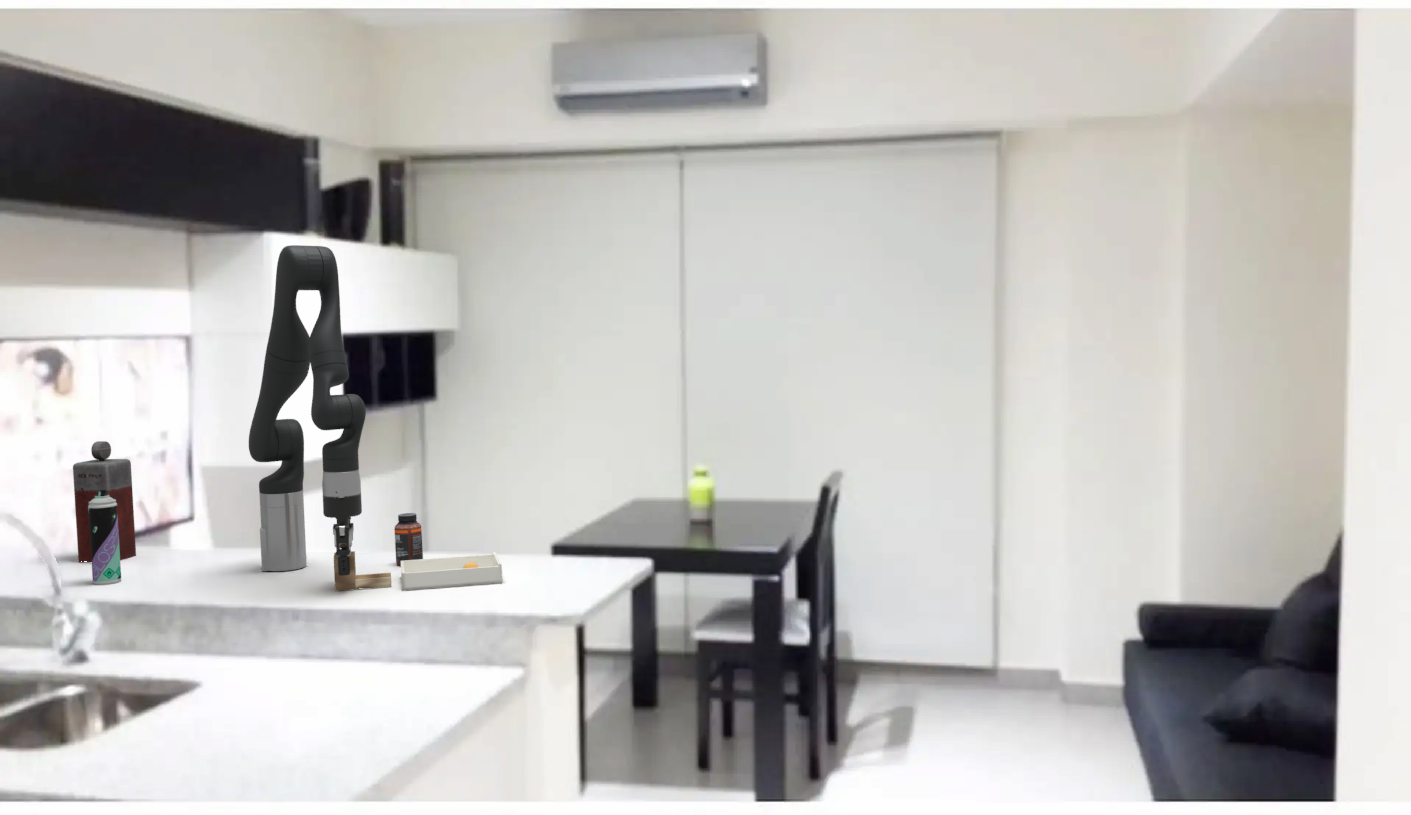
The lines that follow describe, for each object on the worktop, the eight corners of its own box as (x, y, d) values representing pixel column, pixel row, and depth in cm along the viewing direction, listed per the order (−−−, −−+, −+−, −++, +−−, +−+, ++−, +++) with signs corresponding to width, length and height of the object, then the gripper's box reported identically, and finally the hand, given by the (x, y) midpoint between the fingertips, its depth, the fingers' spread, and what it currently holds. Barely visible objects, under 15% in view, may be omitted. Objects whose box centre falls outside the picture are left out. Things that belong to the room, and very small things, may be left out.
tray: (402, 590, 242) (401, 571, 241) (401, 576, 255) (400, 558, 255) (502, 583, 247) (501, 563, 246) (496, 569, 260) (495, 551, 260)
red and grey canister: (94, 554, 289) (87, 439, 287) (136, 555, 287) (130, 439, 285) (69, 562, 281) (61, 443, 279) (112, 562, 279) (105, 443, 277)
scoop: (335, 591, 243) (333, 557, 242) (336, 586, 247) (334, 552, 247) (391, 586, 245) (389, 553, 245) (391, 581, 250) (389, 548, 250)
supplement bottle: (426, 561, 272) (424, 511, 271) (418, 566, 266) (416, 516, 265) (401, 561, 272) (399, 512, 272) (392, 566, 266) (389, 516, 266)
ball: (459, 564, 248) (459, 573, 251) (468, 576, 246) (469, 584, 249) (473, 556, 249) (473, 564, 252) (482, 567, 248) (482, 576, 251)
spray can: (92, 586, 253) (87, 492, 252) (92, 581, 258) (87, 489, 257) (121, 582, 256) (116, 490, 254) (121, 578, 261) (115, 487, 259)
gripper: (324, 488, 250) (327, 565, 251) (320, 498, 236) (324, 579, 238) (361, 486, 252) (364, 562, 253) (360, 496, 238) (363, 576, 240)
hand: (345, 570), depth 245 cm, fingers open, 8 cm apart
